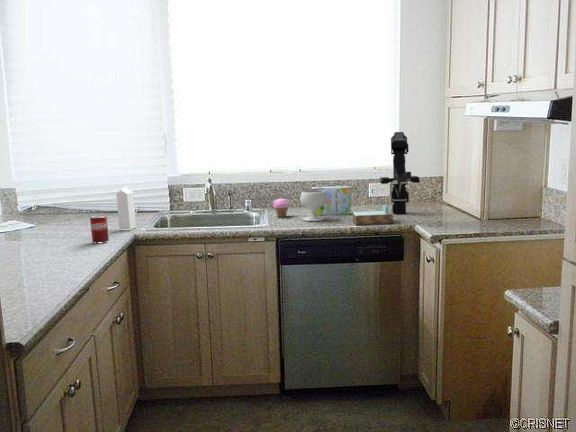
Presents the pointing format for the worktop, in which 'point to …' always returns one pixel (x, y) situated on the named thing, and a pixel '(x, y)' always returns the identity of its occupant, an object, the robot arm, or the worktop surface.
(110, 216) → the worktop surface
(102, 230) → the soda can
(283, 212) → the cupcake
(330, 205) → the snack box
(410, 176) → the robot arm
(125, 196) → the milk
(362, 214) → the lid
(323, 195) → the chalice
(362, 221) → the walnut box
